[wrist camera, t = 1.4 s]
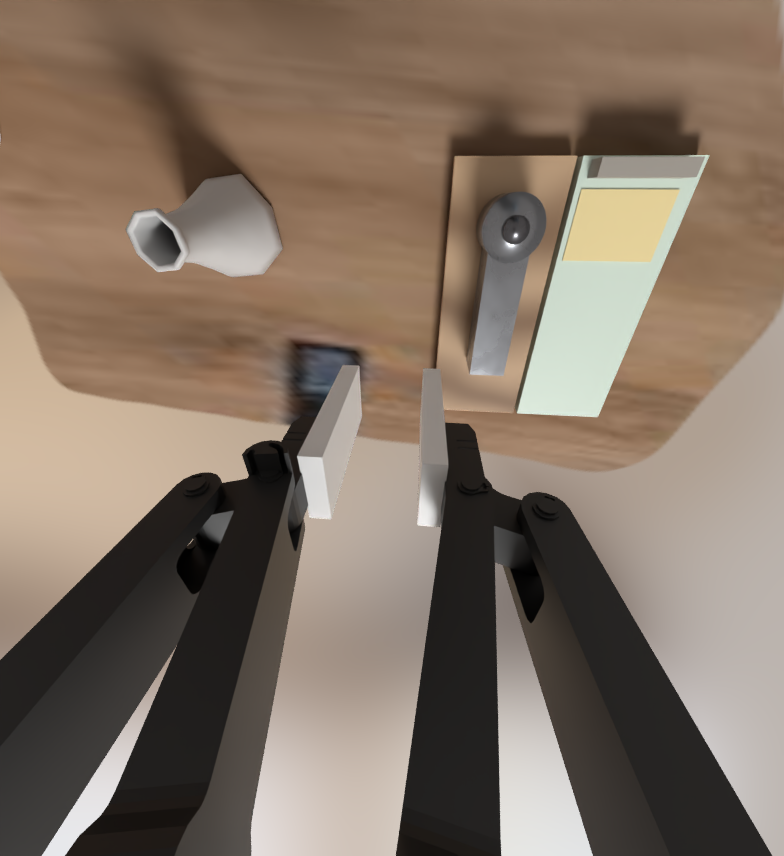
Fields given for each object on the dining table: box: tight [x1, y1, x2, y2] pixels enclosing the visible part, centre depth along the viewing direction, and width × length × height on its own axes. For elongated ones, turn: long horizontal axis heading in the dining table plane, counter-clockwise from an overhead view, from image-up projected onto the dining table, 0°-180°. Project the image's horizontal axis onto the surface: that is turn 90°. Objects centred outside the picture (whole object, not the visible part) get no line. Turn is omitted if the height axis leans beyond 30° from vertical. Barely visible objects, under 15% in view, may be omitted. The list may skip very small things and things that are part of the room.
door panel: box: [515, 155, 709, 417], centre depth 27 cm, size 20×8×3 cm, turn 0°
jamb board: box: [436, 156, 577, 413], centre depth 28 cm, size 20×8×1 cm, turn 0°
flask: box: [126, 174, 283, 277], centre depth 23 cm, size 7×7×10 cm
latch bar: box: [466, 192, 547, 376], centre depth 25 cm, size 12×4×4 cm, turn 0°
